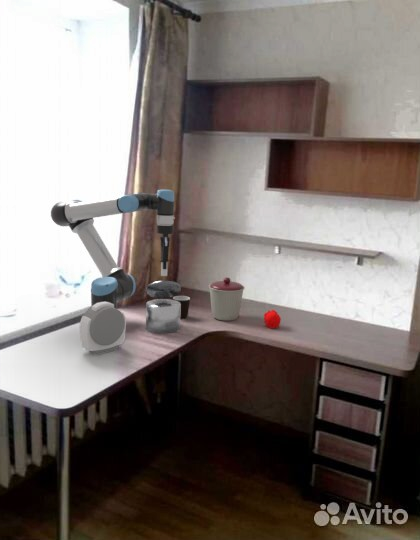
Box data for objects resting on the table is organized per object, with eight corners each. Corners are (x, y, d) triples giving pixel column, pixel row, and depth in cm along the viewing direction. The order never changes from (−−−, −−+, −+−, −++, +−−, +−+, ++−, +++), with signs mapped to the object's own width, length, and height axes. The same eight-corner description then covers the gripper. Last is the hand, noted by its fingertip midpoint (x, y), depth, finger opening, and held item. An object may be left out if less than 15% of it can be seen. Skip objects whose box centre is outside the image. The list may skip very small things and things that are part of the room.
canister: (208, 311, 266) (209, 272, 261) (242, 313, 265) (244, 274, 261) (206, 322, 248) (208, 280, 244) (243, 324, 248) (245, 282, 243)
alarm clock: (116, 342, 216) (116, 297, 212) (127, 348, 210) (127, 301, 206) (78, 352, 204) (77, 304, 200) (89, 358, 198) (88, 309, 194)
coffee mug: (189, 320, 251) (189, 300, 248) (171, 319, 251) (172, 300, 249) (190, 313, 262) (191, 294, 260) (173, 312, 262) (174, 294, 260)
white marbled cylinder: (147, 334, 228) (147, 308, 225) (144, 322, 245) (145, 298, 242) (182, 333, 231) (182, 308, 228) (177, 321, 248) (178, 297, 245)
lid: (147, 283, 227) (147, 277, 228) (145, 298, 241) (145, 292, 242) (182, 283, 230) (182, 277, 231) (178, 297, 244) (178, 292, 245)
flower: (263, 319, 240) (261, 313, 247) (268, 333, 241) (266, 327, 249) (278, 313, 239) (276, 307, 247) (284, 327, 241) (281, 321, 249)
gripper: (175, 226, 221) (173, 278, 226) (171, 222, 234) (170, 272, 239) (158, 226, 220) (157, 278, 225) (155, 222, 232) (154, 272, 237)
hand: (164, 275), depth 232 cm, fingers closed
